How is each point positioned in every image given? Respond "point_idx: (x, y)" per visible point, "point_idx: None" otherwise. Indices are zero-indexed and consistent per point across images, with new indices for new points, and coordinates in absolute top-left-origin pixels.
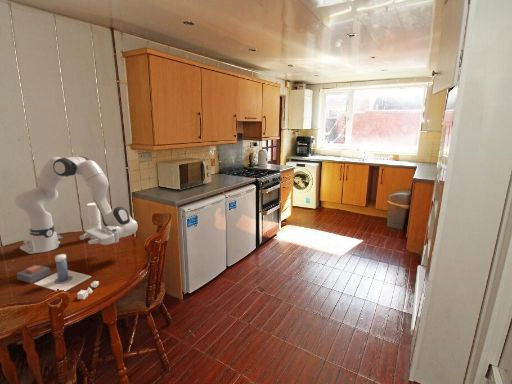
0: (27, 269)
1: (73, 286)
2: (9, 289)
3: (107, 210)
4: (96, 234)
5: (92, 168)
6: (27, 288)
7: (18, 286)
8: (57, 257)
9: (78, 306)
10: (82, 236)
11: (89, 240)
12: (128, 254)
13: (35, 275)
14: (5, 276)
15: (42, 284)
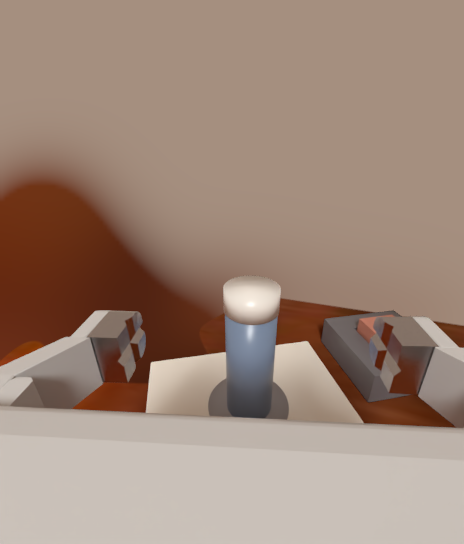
0: (383, 316)
1: (147, 401)
2: (319, 309)
3: None
4: (191, 484)
5: None
6: (287, 328)
7: (323, 321)
8: (244, 279)
9: (21, 356)
10: (393, 328)
11: (127, 316)
12: None
13: (334, 334)
14: (437, 323)
15: (275, 351)
